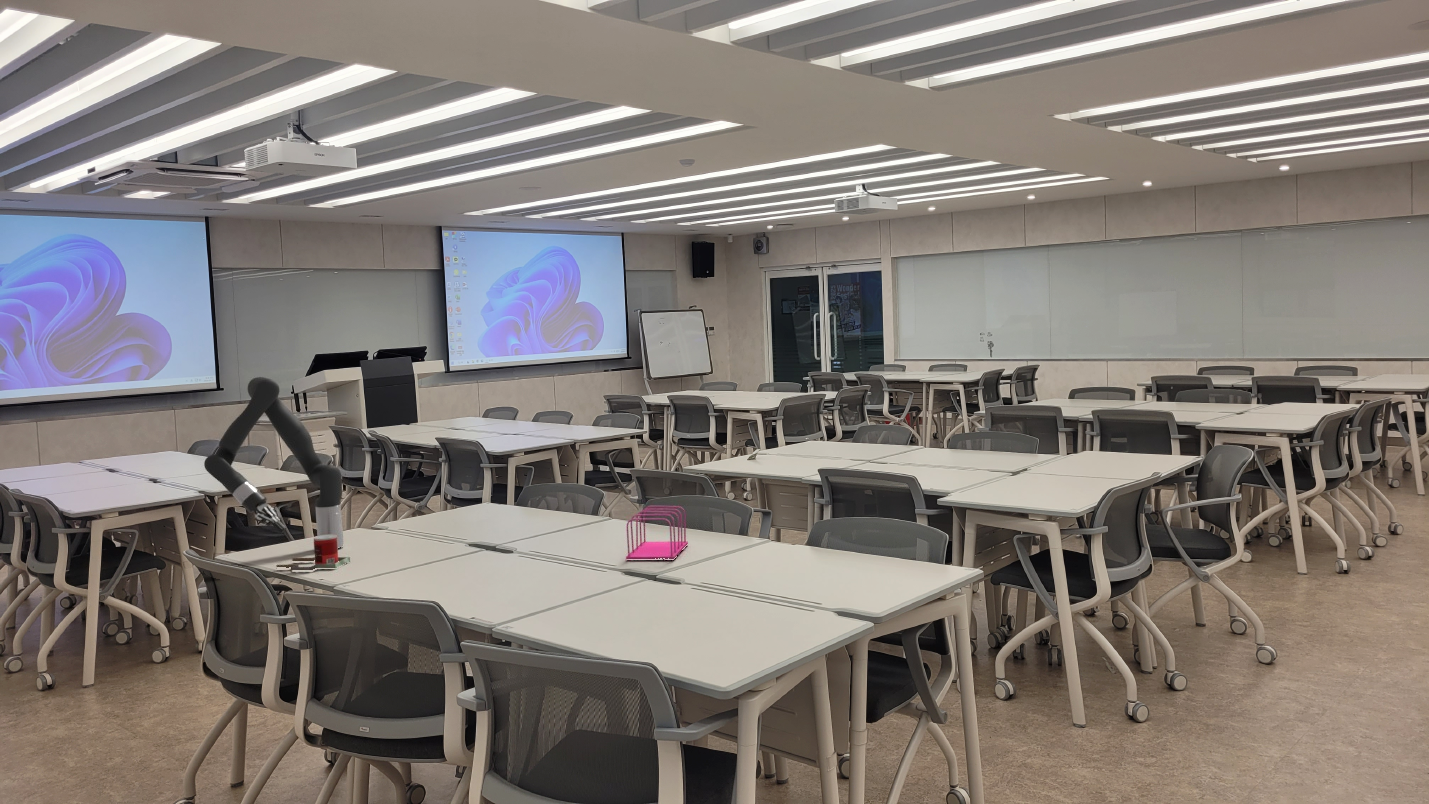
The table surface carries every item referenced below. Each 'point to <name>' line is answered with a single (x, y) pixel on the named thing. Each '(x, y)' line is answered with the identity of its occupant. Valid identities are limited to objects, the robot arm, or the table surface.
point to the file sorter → (657, 548)
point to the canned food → (326, 549)
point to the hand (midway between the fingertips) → (283, 530)
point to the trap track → (295, 566)
